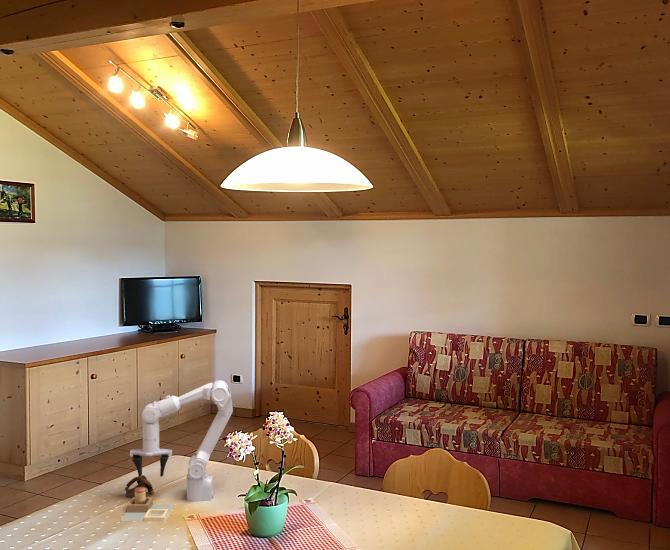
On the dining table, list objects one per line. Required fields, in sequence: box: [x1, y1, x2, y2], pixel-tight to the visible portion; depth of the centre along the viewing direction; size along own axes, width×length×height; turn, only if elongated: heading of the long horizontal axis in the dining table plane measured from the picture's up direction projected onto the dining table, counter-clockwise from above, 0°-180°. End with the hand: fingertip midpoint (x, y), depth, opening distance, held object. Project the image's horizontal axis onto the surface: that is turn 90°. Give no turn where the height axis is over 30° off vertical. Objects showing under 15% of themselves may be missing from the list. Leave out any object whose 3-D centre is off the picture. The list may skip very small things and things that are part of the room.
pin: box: [134, 487, 147, 504], centre depth 233 cm, size 4×4×7 cm
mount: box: [120, 496, 175, 522], centre depth 230 cm, size 15×14×4 cm
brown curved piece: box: [124, 474, 155, 497], centre depth 248 cm, size 12×10×8 cm
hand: (151, 475), depth 240 cm, fingers open, 7 cm apart
